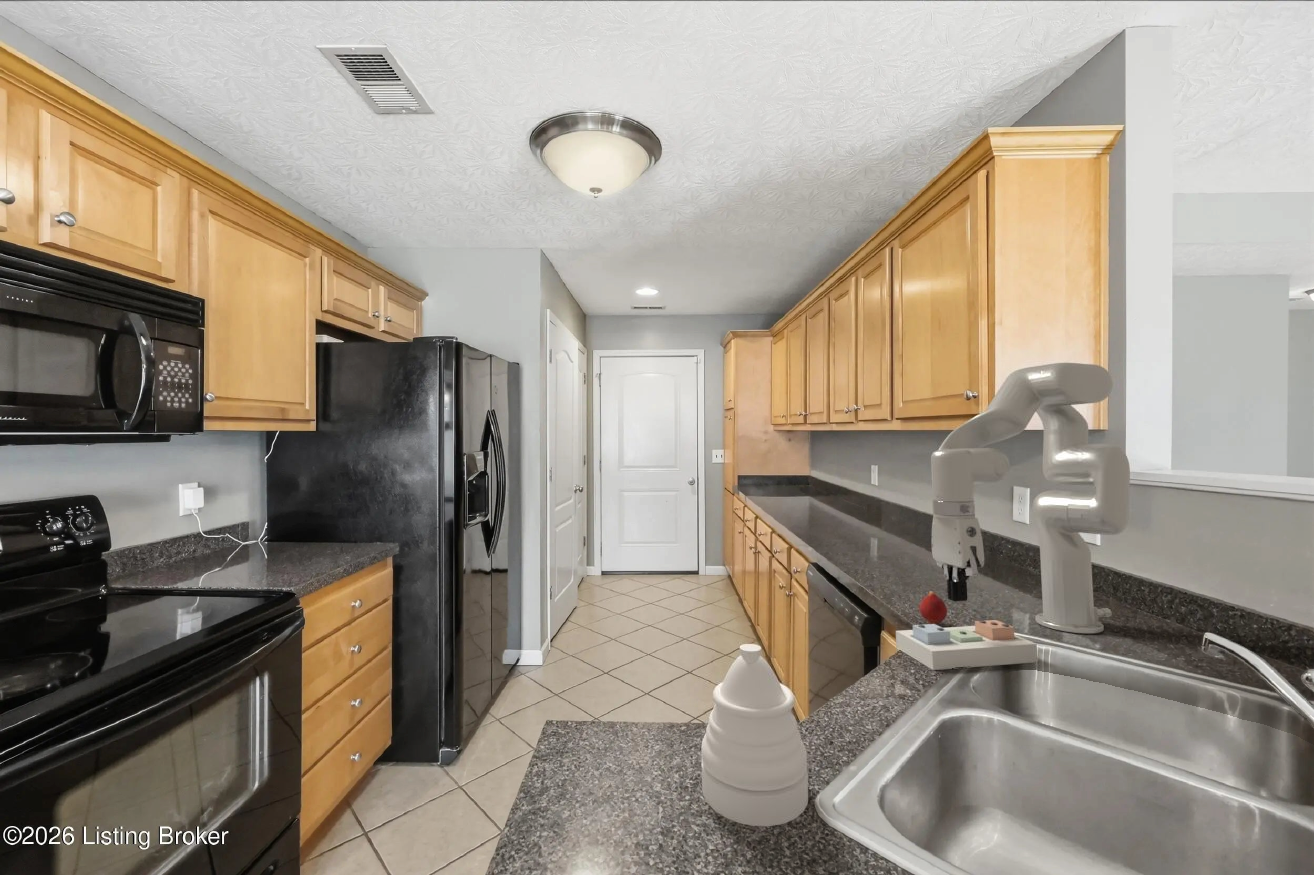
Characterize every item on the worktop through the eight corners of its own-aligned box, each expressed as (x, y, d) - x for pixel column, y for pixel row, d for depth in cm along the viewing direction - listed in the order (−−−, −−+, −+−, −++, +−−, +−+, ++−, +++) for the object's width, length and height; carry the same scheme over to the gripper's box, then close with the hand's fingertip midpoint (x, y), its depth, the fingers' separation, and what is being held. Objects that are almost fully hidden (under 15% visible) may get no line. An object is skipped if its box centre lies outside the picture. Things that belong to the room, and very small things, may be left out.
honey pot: (814, 832, 57) (809, 664, 58) (697, 820, 59) (693, 659, 60) (802, 764, 70) (798, 627, 71) (706, 756, 72) (703, 624, 73)
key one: (966, 643, 109) (965, 627, 109) (983, 651, 105) (982, 635, 105) (944, 645, 109) (944, 629, 109) (961, 653, 104) (960, 637, 104)
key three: (996, 634, 110) (995, 619, 110) (1014, 642, 106) (1013, 626, 106) (975, 635, 110) (974, 620, 110) (992, 643, 105) (992, 627, 105)
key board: (990, 641, 114) (990, 624, 114) (1037, 662, 102) (1036, 643, 102) (896, 647, 111) (895, 630, 111) (932, 670, 99) (932, 651, 99)
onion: (941, 621, 128) (939, 588, 128) (952, 629, 122) (950, 594, 122) (916, 621, 128) (915, 588, 129) (926, 629, 123) (924, 594, 123)
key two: (934, 638, 109) (934, 622, 109) (950, 646, 104) (949, 630, 104) (913, 640, 108) (912, 624, 108) (928, 648, 103) (927, 631, 103)
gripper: (998, 512, 101) (1002, 609, 100) (945, 505, 116) (949, 590, 115) (962, 514, 100) (966, 611, 99) (914, 507, 115) (917, 591, 114)
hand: (957, 599), depth 107 cm, fingers closed
